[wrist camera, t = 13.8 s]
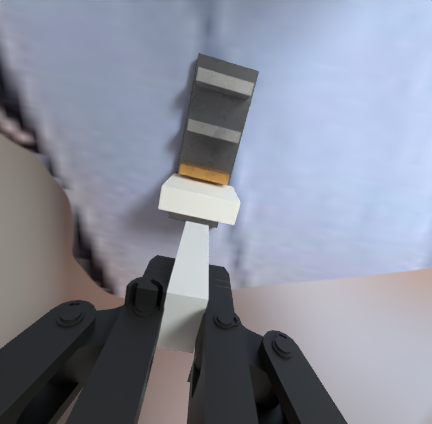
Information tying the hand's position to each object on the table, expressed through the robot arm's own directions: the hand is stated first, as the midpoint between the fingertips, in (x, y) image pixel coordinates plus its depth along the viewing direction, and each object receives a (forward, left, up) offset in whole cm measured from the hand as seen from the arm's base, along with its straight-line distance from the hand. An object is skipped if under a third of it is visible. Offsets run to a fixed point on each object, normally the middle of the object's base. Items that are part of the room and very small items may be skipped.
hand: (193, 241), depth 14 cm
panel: (0, 0, -15) cm, 15 cm away
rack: (-5, 0, -16) cm, 17 cm away
